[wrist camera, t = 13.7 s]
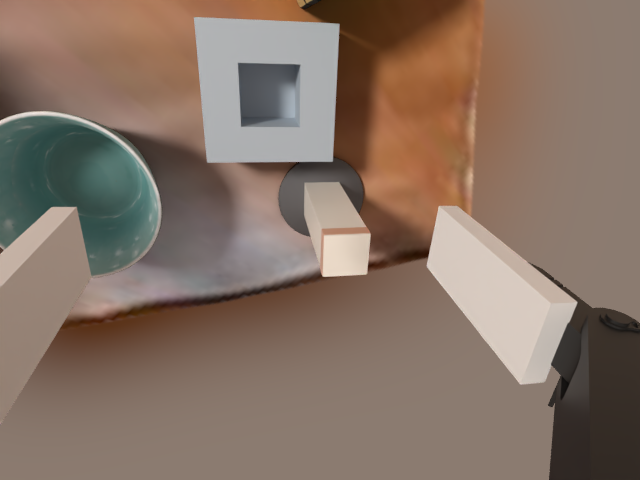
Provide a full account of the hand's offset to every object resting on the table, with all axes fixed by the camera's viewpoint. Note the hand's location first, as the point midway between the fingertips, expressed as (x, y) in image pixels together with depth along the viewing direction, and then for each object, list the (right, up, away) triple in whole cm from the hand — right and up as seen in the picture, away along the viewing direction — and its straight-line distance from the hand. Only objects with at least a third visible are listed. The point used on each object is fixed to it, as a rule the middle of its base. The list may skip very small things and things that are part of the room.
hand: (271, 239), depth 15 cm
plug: (+2, +5, +32) cm, 33 cm away
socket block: (-4, +16, +27) cm, 31 cm away
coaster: (+2, +5, +33) cm, 33 cm away
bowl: (-22, +7, +28) cm, 36 cm away
